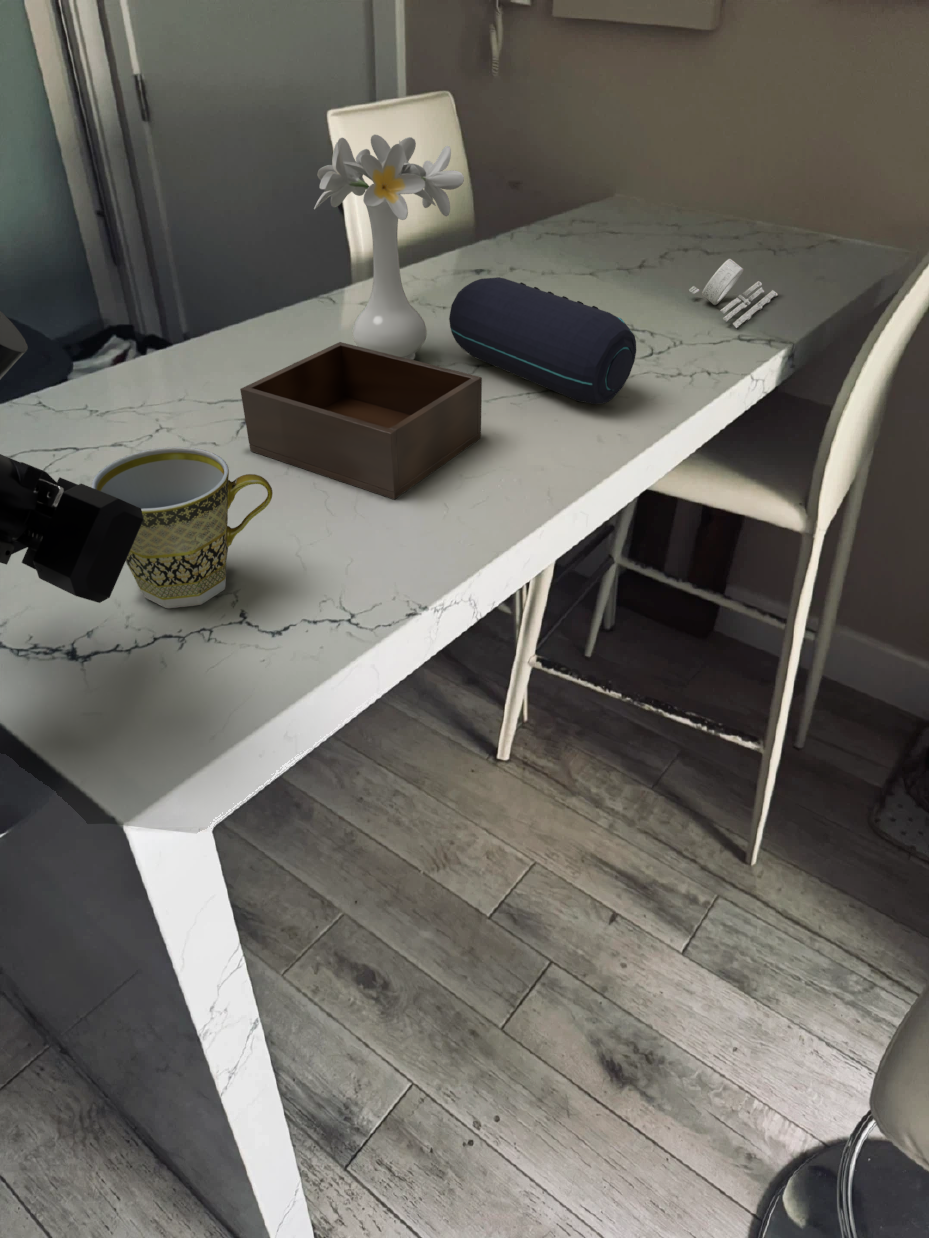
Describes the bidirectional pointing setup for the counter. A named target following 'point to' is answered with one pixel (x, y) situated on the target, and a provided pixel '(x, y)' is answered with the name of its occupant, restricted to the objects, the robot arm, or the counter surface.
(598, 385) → the portable speaker
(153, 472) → the ceramic cup
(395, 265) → the flower vase
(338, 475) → the crate
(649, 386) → the counter surface
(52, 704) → the counter surface
